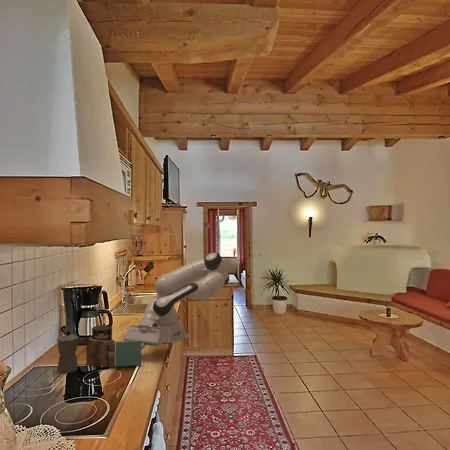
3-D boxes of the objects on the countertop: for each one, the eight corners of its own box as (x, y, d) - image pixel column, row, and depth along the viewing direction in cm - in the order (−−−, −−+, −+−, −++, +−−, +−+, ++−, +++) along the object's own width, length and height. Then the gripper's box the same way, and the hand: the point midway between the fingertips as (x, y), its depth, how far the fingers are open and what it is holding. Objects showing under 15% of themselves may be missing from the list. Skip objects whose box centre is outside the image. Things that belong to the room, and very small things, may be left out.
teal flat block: (107, 367, 171) (108, 343, 171) (108, 365, 174) (108, 341, 174) (141, 365, 174) (141, 341, 174) (141, 363, 177) (141, 339, 177)
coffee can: (111, 356, 187) (112, 329, 187) (90, 358, 184) (90, 330, 184) (112, 350, 196) (112, 324, 197) (92, 351, 194) (92, 325, 194)
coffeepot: (68, 376, 162) (69, 336, 162) (49, 374, 163) (50, 334, 163) (86, 363, 177) (87, 326, 177) (69, 362, 178) (69, 325, 178)
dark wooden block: (85, 364, 175) (85, 338, 176) (89, 362, 178) (89, 336, 178) (112, 368, 171) (112, 341, 171) (116, 366, 174) (116, 339, 174)
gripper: (127, 321, 190) (116, 346, 181) (162, 325, 184) (153, 350, 174) (132, 328, 194) (121, 352, 185) (166, 331, 188) (157, 356, 179)
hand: (137, 351), depth 180 cm, fingers closed
